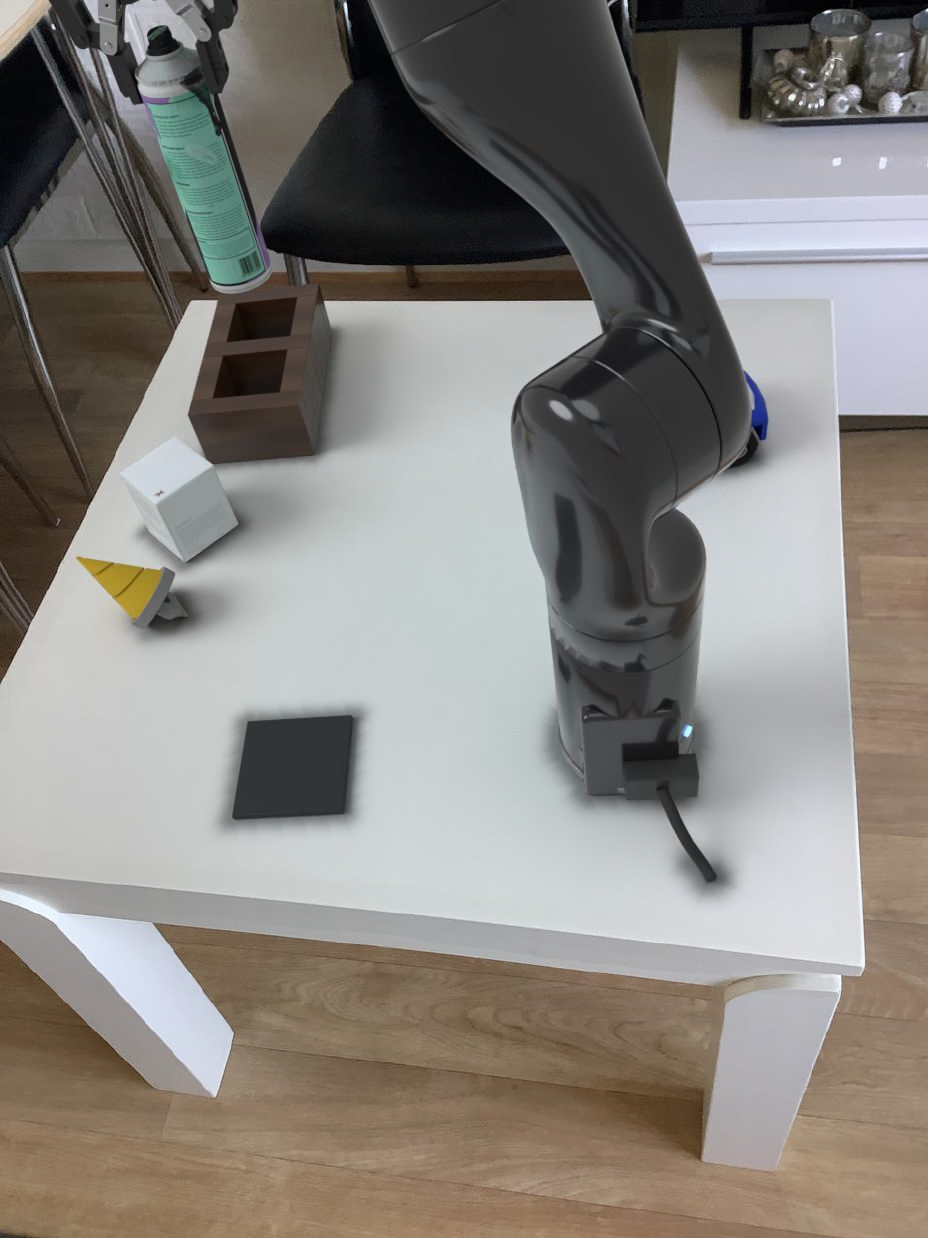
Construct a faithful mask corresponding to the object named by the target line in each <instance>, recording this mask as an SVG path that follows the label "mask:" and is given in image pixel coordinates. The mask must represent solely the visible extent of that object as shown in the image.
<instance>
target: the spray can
mask: <svg viewBox="0 0 928 1238" xmlns="http://www.w3.org/2000/svg"><path fill="white" fill-rule="evenodd" d="M146 38H147V42H148V44H147V46H146V47H147V48H146V50H145V51H144V52H145V53H144V54H145V58H144V59H143V61H142V62H141V63H140V64H138V67H137V68H136V70H135V77H136V79H137V81H138V83H137V85H138V89H139V92H140V94H141V97H142V100H143V102H144V103H143V105H144V107H145V110H146V114H147V116H148V119H149V121H150V123H151V124H150V125H151V127H152V129H153V132H154V135H155V137H156V140H157V143H158V145H159V148H160V151H161V153H162V156H163V159H164V162H165V164H166V167H167V169H168V173H169V176H170V178H171V180H172V183H173V186H174V188H175V191H176V194H177V197H178V200H179V202H180V204H181V208H182V211H183V212H184V215H185V218H186V221H187V224H188V226H189V229H190V232H191V234H192V237H193V240H194V242H195V245H196V248H197V250H198V253H199V256H200V259H201V261H202V265H203V266H204V269H205V272H206V275H207V278H208V280H209V282H210V284H211V286H212V288H213V289H214V290H215V291H217V292H218V293H229V294H233V293H242V292H246V291H249V290H255V289H256V288H258V287H260V286H261V285H263V284H264V283H265V282H267V281H268V279H270V277H271V275H272V273H273V265H272V261H271V257H270V254H269V252H268V248H267V245H266V242H265V239H264V236H263V233H262V232H263V231H262V229H261V226H260V223H259V220H258V217H257V213H256V210H255V207H254V204H253V200H252V198H251V194H250V191H249V187H248V184H247V182H246V179H245V176H244V172H243V169H242V165H241V163H240V159H239V156H238V153H237V150H236V147H235V143H234V140H233V138H232V134H231V132H230V128H229V125H228V122H227V118H226V115H225V112H224V109H223V106H222V103H221V100H220V96H219V94H211V92H210V89H209V86H208V83H207V80H206V77H205V74H204V71H203V68H202V65H201V61H200V58H199V55H198V52H197V49H193V48H189V47H187V46H185V45H184V43H183V42H182V41H181V40H177V39H176V38H175V37H173V33H172V31H171V30H170V27H169V26H168V25H167V24H166V25H165V24H161V25H160V24H159V25H156V26H154V27H151V28H150V29H149V30H148V31H147V33H146Z"/></svg>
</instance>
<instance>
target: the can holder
mask: <svg viewBox="0 0 928 1238" xmlns="http://www.w3.org/2000/svg"><path fill="white" fill-rule="evenodd" d="M213 313H214V314H213V317H212V322H211V326H210V328H209V333H208V337H207V340H206V344H205V347H204V352H203V355H202V359H201V363H200V367H199V370H198V375H197V379H196V381H195V382H196V383H195V386H194V390H193V393H192V397H191V400H190V405H189V408H188V411H187V418H188V420H189V422H190V424H191V427H192V429H193V431H194V433H195V436H196V438H197V440H198V443H199V446H200V447H201V449H202V452H203V455H204V458H205V459H206V460H208V461H209V462H210V463H212V464H213V465H214V464H223V463H224V464H225V463H236V462H237V463H238V462H247V461H248V462H249V461H259V460H271V459H281V458H293V457H305V456H315V455H316V448H317V441H318V434H319V426H320V420H321V414H322V406H323V399H324V392H325V386H326V385H325V384H326V378H327V372H328V371H327V370H328V364H329V358H330V351H331V344H332V338H333V328H332V326H331V323H330V319H329V315H328V311H327V307H326V304H325V300H324V296H323V292H322V289H321V285H320V282H314V283H306V284H305V283H304V284H296V285H286V286H277V287H267V288H259V289H256V288H255V289H252V290H249V291H246V292H242V293H233V294H229V293H222V292H219V295H218V298H217V302H216V306H215V310H214V312H213Z"/></svg>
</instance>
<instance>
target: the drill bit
mask: <svg viewBox="0 0 928 1238" xmlns="http://www.w3.org/2000/svg"><path fill="white" fill-rule="evenodd" d="M75 559H76V560H77V561H78V562H79V563H80V565H82V566H83V567H84V569H85V570H86V571H87V573H89V574H90V575H91V576H92V577H93V579H94V580H95V581H96V582H97V583H98V584H99V585H100V586H101V587H102V588H103V589H104V590H105V591H106V592H107V593H108V594H109V595H110V596H111V598H112V599H113V600H114V601H115V602H116V603H117V604H118V605H119V607H121V608H122V609H123V611H125V613H126V614H127V615H128V616H129V617H130V618H131V621H130V623H131V624H130V625H132V626H134V627H136V628H138V629H140V630H145V629H146V627H148V626H149V624H150V623H151V621H152V620H153V619H154V617H155V616H156V615H157V616H159V617H161V618H163V619H165V620H173V619H176V618H177V617H178V618H179V617H181V618H190V615H189V614H188V612H187V611H186V610H185V608H184V607H183V606H182V604H181V603H180V601H179V600H178V598H177V597H176V595H175V594H173V593H172V592H170V589H171V588H172V585H173V583H174V580H175V577H176V572H175V571H174V570H172V569H170V568H168V567H166V566H162V567H161V568H160V569H156V568H151V567H150V568H149V567H143V566H137V565H132V564H125V563H118V562H114V561H107V560H100V559H94V558H89V557H81V556H76V557H75Z"/></svg>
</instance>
